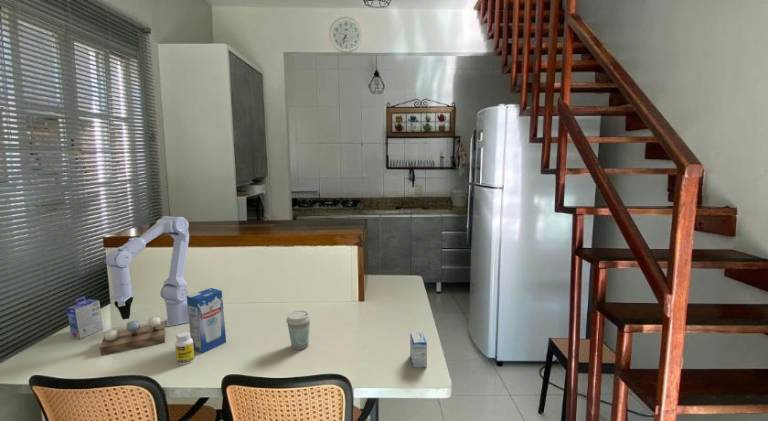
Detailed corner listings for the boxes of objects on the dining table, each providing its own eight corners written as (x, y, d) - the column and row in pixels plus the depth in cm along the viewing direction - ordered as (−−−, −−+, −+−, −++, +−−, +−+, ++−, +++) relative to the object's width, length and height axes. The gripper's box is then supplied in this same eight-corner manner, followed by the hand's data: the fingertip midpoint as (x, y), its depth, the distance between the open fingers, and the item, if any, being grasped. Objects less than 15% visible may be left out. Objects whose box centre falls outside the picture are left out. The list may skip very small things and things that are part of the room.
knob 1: (119, 340, 156) (118, 328, 156) (118, 344, 153) (117, 333, 152) (106, 342, 155) (105, 331, 154) (105, 347, 151) (103, 335, 150)
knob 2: (161, 326, 162) (160, 316, 162) (161, 330, 159) (159, 319, 158) (149, 329, 161) (148, 318, 160) (149, 333, 157) (147, 321, 156)
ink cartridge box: (94, 327, 172) (89, 293, 169) (104, 328, 170) (99, 294, 168) (69, 337, 162) (64, 301, 160) (80, 339, 161) (74, 303, 158)
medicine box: (410, 356, 142) (409, 331, 141) (423, 355, 143) (422, 331, 141) (413, 368, 134) (413, 342, 133) (427, 367, 135) (427, 342, 133)
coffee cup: (291, 354, 145) (289, 321, 143) (285, 344, 153) (283, 313, 151) (315, 348, 149) (313, 316, 147) (308, 338, 157) (306, 308, 155)
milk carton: (202, 353, 147) (197, 299, 144) (191, 349, 150) (186, 296, 147) (226, 342, 156) (221, 290, 152) (215, 338, 159) (211, 287, 156)
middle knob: (140, 330, 159) (139, 319, 159) (139, 334, 156) (138, 323, 155) (128, 333, 157) (126, 322, 157) (127, 337, 154) (125, 325, 153)
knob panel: (165, 330, 167) (164, 323, 166) (164, 342, 156) (164, 335, 156) (105, 341, 158) (104, 334, 158) (101, 355, 147) (99, 347, 147)
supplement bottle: (176, 366, 139) (173, 338, 137) (177, 359, 144) (174, 332, 142) (194, 362, 141) (191, 335, 139) (194, 355, 146) (192, 329, 144)
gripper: (111, 279, 157) (115, 313, 160) (105, 291, 144) (110, 328, 147) (132, 276, 160) (137, 310, 163) (129, 287, 148) (134, 324, 150)
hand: (126, 318), depth 155 cm, fingers closed
